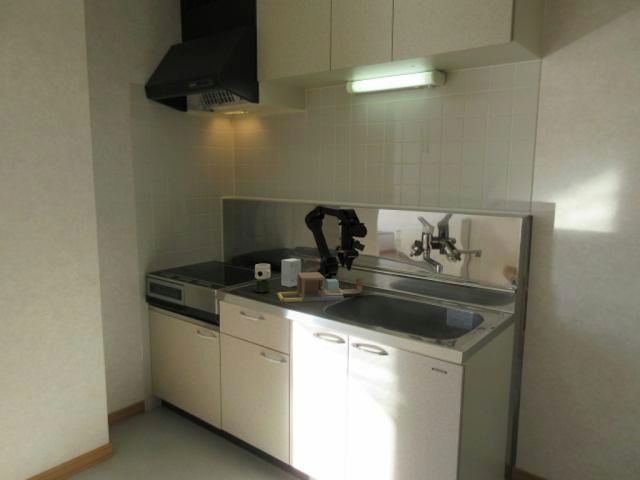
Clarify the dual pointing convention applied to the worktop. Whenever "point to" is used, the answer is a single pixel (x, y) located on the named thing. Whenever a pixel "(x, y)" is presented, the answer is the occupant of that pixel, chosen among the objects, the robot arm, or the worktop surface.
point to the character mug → (262, 277)
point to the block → (331, 284)
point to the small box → (290, 271)
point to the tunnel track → (308, 289)
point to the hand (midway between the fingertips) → (345, 268)
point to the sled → (340, 292)
